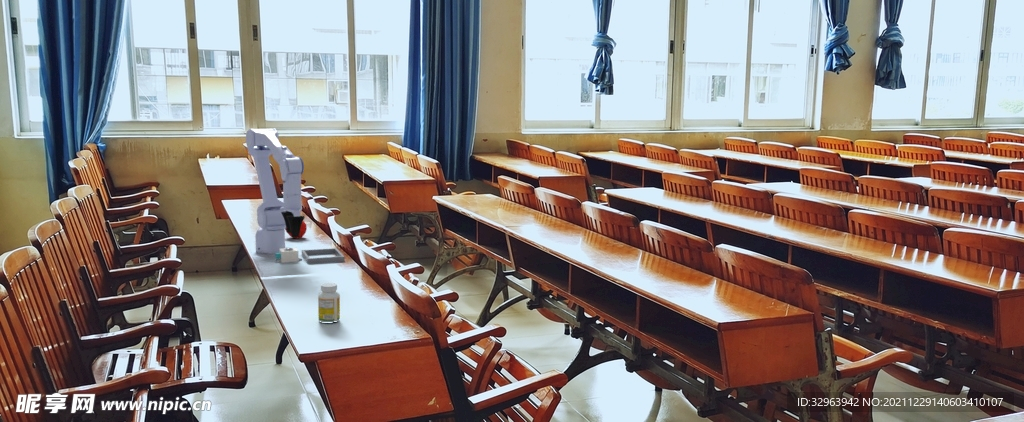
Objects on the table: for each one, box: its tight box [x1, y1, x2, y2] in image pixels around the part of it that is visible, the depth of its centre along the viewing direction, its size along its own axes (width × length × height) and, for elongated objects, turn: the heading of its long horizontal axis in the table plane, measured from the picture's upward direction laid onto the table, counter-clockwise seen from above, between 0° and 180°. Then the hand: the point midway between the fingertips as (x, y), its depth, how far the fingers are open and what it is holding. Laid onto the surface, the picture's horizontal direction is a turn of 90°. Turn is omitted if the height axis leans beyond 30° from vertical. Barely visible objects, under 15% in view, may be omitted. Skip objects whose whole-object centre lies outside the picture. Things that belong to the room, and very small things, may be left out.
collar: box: [275, 247, 299, 263], centre depth 274 cm, size 5×7×4 cm
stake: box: [275, 247, 303, 264], centre depth 275 cm, size 8×8×5 cm
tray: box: [301, 247, 346, 265], centre depth 279 cm, size 14×12×2 cm
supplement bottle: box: [317, 282, 341, 322], centre depth 211 cm, size 5×5×10 cm
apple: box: [285, 220, 307, 239], centre depth 315 cm, size 8×8×7 cm
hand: (293, 234), depth 274 cm, fingers open, 7 cm apart
